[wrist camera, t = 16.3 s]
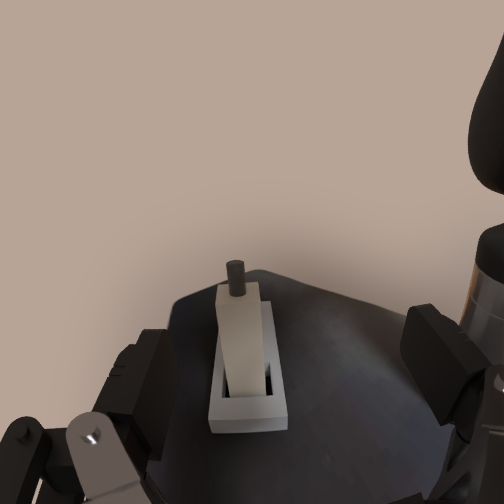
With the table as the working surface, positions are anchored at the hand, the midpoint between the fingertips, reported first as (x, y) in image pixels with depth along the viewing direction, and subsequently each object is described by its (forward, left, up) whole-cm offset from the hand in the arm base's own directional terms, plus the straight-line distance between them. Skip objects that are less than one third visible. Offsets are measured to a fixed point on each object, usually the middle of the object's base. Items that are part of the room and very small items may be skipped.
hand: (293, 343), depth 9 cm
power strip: (-18, -19, -21) cm, 34 cm away
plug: (-12, -13, -21) cm, 28 cm away
